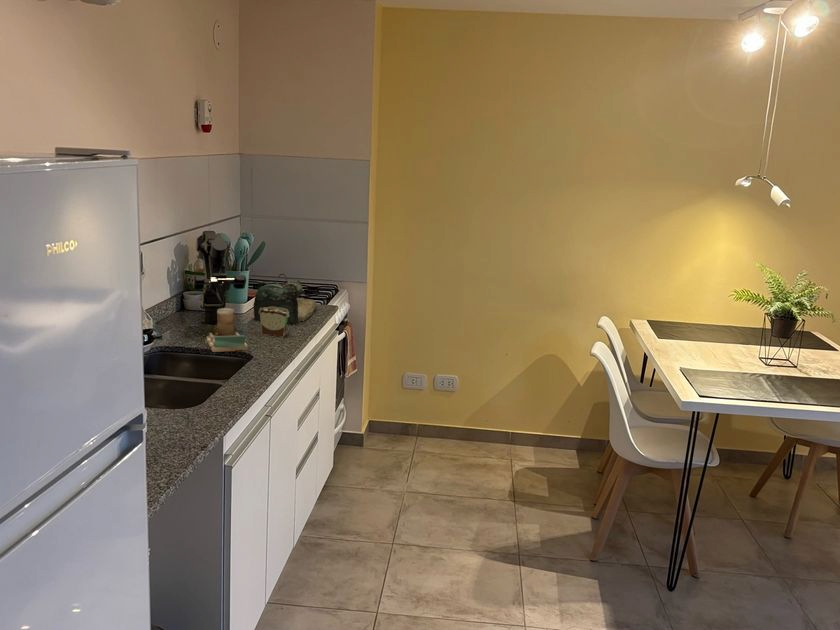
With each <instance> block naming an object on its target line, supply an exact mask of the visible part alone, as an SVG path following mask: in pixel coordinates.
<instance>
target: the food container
mask: <svg viewBox="0 0 840 630" xmlns="http://www.w3.org/2000/svg"><path fill="white" fill-rule="evenodd" d="M259 313H260V320H261V321H260V330H261V331H260V332H261V335H262V334H264V335H263V336H269V335H274V336H273V337H275V336H282V337H284V336H285V337H286V335H287V334H286V333H287V326H288V324H287V318H288V317H289V312H288V310H287V309H285V308H280V307H274V306H270V307H264V308H260V310H259ZM259 313H258V314H259ZM282 337H281V338H282ZM285 337H284V338H285Z"/></svg>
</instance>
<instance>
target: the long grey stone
mask: <svg viewBox="0 0 840 630" xmlns="http://www.w3.org/2000/svg"><path fill="white" fill-rule="evenodd" d="M297 302H298V323H301V322H300V321H303V322H305V321H306V320H308V319H309V318H310V317H311V316H312V315H313V314H314V312H315V311H314V310H316V308H317V301H316V300H314V299H309V298H304V297H298V298H297Z"/></svg>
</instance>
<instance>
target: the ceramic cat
mask: <svg viewBox="0 0 840 630" xmlns="http://www.w3.org/2000/svg"><path fill="white" fill-rule="evenodd" d="M281 276H284V277H285V283H283V284H281V283H278V282H275V281H273V280H265V281H262V282H260V284H259V285H258V287H257V291H256V293H255V295H254V301H253V304H252V305H253V317H254V320H255V321H257V320H258V321H259V322H261V320H260V313H259V310H260V308H264V307H280V308H285V309H287V310H288V312H289V317H288V318H287V323H289V324H288V325H293V324H295V325H296V323H297V324H299V322H298V302H297V298H300V296H302V294H303V291H304V289H303V285H302V284H301V282H300V279H297V280H296V281H295V282H290V281H289V280H287V278H288V277H287V276H286V274H284V273H280V274H279V275H278V278H279V277H281ZM265 283H268V284H265ZM269 283H270V284H269ZM263 284H265V285H263ZM261 285H262V286H261ZM258 313H259V314H258Z"/></svg>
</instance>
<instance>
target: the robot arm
mask: <svg viewBox="0 0 840 630" xmlns="http://www.w3.org/2000/svg"><path fill="white" fill-rule="evenodd" d="M228 249H229V244H228V242H227V240H225V239H224V238H222V236H221V235H217V234H216V231H214V230H203V231H202V232H201V235H200V236H198V237H197V239H196V243H195V251H196V252H197V254H198V257H199V258H200V259H201V261H203V267H204V268H203V269H204V274H203V275H199V274H198V275H194V276H193V280H192V281H193V282H192V289H193V290H194V291H195V290H196V291H197V290H201V291H202V290H203V292H202V294H201V299H200V300H201V303H200V304H201V307H202V309H204V314H203V315H204V319H203V320H201V323H205V324H212V325H217V310H218V309H224V308H226V307H227V306H226V305H227V303H226V302H227V295H226V293H227V291H230V288H231V285H232V286H233V288H234V289H235V290H243V289H245V288H246V283H247V277H246V275H244V274H235V275H234V276H233V277H234V278H228V273H227V266H226V265H227V264H226V259H225V258H226V255H227V252H228V251H227V250H228Z"/></svg>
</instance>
